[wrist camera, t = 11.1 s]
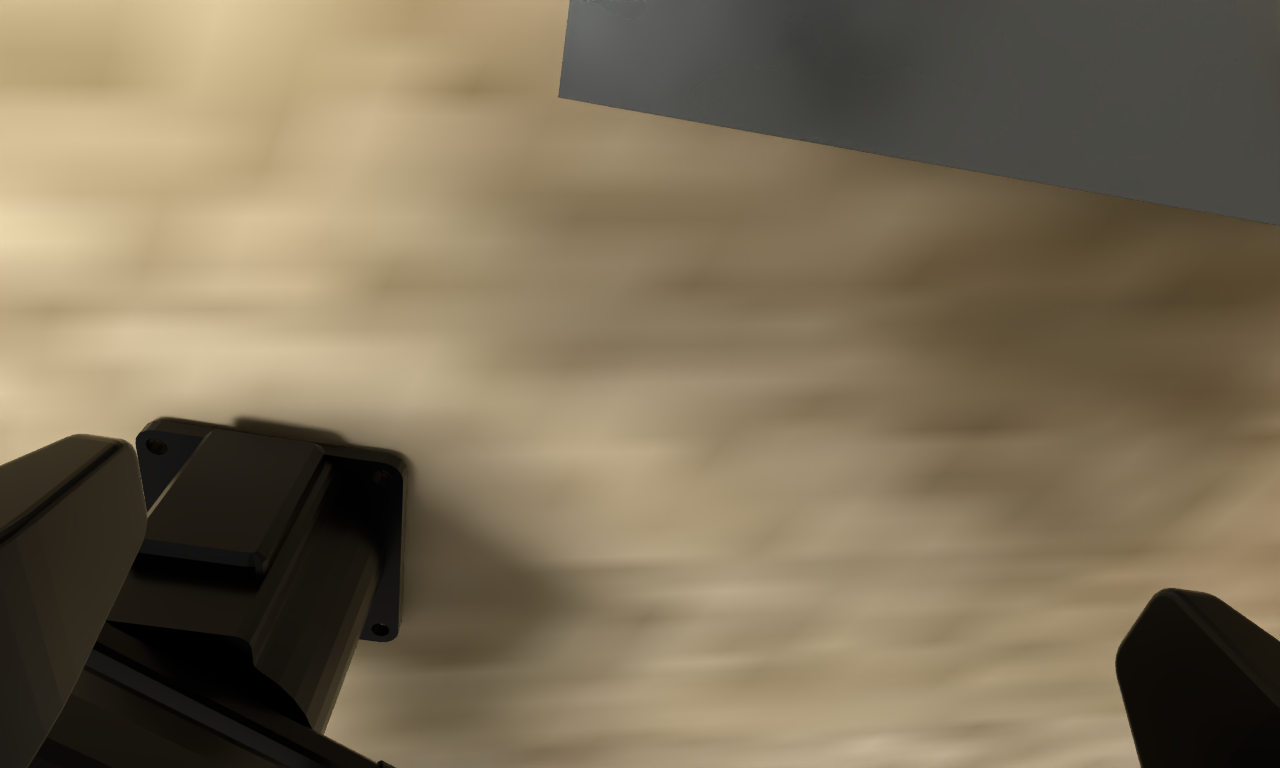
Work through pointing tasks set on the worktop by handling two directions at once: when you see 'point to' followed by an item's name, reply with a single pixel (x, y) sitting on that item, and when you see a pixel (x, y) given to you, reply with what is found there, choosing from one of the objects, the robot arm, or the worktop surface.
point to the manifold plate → (968, 85)
